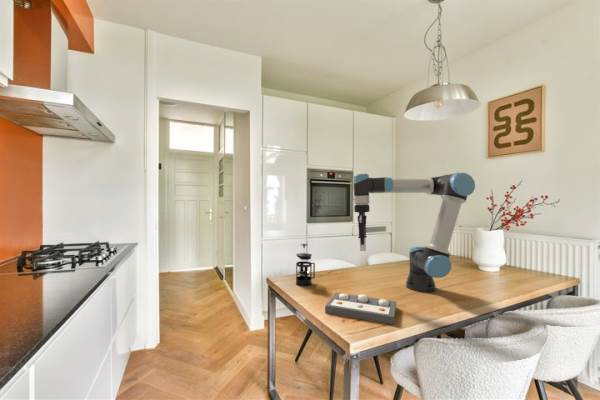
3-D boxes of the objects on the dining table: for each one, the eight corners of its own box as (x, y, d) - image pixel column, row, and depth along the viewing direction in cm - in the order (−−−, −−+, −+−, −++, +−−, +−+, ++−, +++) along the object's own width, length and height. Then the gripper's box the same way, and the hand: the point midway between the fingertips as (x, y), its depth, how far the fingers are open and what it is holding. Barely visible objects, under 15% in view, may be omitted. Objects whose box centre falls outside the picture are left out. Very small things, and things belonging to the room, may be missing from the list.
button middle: (368, 302, 124) (368, 295, 124) (367, 305, 120) (367, 298, 120) (359, 300, 126) (359, 293, 126) (357, 303, 122) (357, 296, 122)
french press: (296, 287, 151) (297, 245, 151) (292, 282, 160) (293, 243, 160) (316, 285, 154) (317, 245, 154) (311, 280, 163) (312, 242, 163)
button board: (396, 307, 122) (396, 300, 122) (393, 324, 106) (393, 315, 106) (336, 298, 133) (336, 291, 133) (325, 312, 117) (325, 304, 117)
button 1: (349, 301, 128) (349, 294, 128) (347, 304, 124) (347, 297, 124) (340, 299, 130) (340, 293, 130) (337, 302, 125) (337, 296, 125)
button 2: (389, 307, 121) (389, 300, 121) (388, 310, 117) (388, 303, 117) (379, 305, 123) (379, 298, 123) (377, 309, 119) (378, 301, 119)
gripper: (356, 204, 145) (357, 248, 145) (352, 204, 133) (353, 252, 133) (370, 203, 142) (371, 248, 142) (367, 204, 130) (369, 253, 130)
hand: (362, 250), depth 137 cm, fingers closed
